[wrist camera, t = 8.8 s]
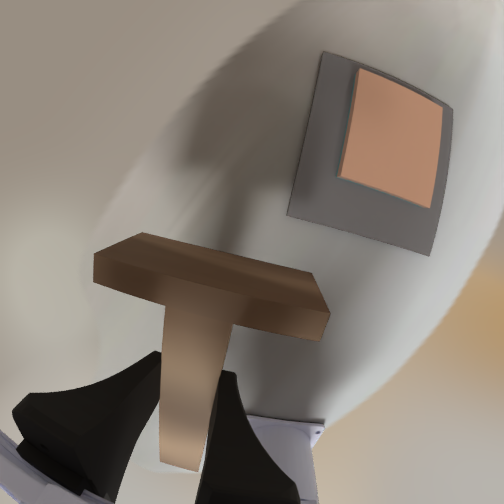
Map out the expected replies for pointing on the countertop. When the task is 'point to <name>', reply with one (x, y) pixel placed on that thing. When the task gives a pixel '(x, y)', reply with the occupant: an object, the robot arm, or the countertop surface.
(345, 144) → the tile
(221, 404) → the robot arm
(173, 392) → the wooden t-shaped piece
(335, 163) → the mat
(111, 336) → the countertop surface
